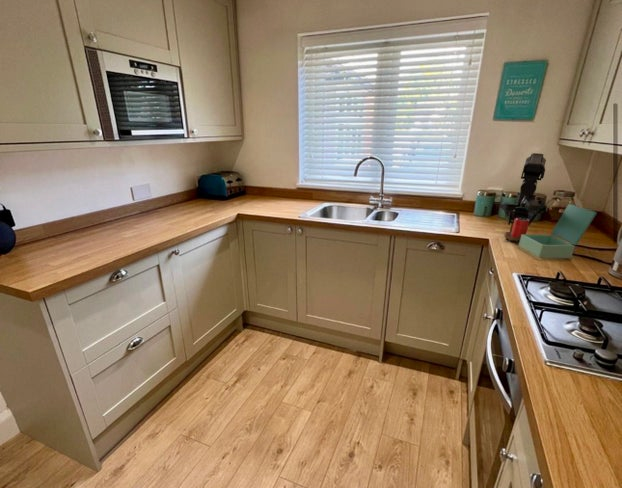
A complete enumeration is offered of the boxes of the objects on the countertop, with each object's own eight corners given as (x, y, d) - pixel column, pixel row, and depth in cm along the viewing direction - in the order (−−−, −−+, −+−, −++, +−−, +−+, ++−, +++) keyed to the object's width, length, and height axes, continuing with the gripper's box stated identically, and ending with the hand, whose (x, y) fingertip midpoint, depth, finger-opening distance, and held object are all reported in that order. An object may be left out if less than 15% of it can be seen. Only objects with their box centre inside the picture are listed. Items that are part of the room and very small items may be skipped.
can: (508, 233, 160) (512, 217, 156) (520, 233, 160) (524, 217, 157) (515, 237, 154) (520, 220, 151) (528, 237, 154) (532, 220, 151)
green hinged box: (538, 259, 139) (542, 245, 136) (518, 247, 152) (521, 234, 150) (570, 260, 139) (575, 246, 136) (547, 247, 152) (551, 234, 150)
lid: (595, 212, 131) (597, 212, 131) (568, 203, 144) (570, 204, 145) (574, 244, 136) (576, 245, 136) (550, 233, 150) (552, 234, 150)
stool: (499, 239, 162) (501, 232, 161) (517, 239, 163) (519, 232, 161) (509, 245, 154) (511, 238, 153) (528, 245, 154) (530, 238, 153)
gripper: (517, 194, 141) (508, 229, 147) (560, 195, 142) (549, 230, 148) (503, 189, 152) (495, 222, 158) (543, 190, 152) (533, 223, 158)
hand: (518, 224), depth 155 cm, fingers open, 9 cm apart
